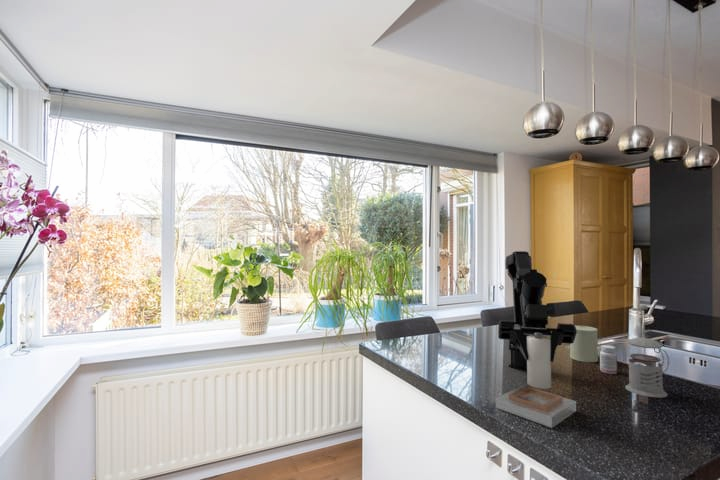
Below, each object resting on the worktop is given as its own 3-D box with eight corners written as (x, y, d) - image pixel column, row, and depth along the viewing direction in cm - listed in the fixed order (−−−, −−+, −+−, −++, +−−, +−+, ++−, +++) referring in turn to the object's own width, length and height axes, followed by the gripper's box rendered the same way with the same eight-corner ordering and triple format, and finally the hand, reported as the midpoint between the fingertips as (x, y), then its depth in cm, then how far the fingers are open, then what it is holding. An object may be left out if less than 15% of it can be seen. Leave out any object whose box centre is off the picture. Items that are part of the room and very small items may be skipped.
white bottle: (522, 381, 96) (522, 331, 96) (540, 380, 97) (540, 330, 97) (537, 389, 90) (536, 336, 90) (556, 387, 91) (555, 335, 92)
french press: (616, 385, 110) (614, 302, 111) (652, 383, 111) (650, 302, 112) (644, 398, 100) (642, 307, 101) (683, 396, 101) (680, 306, 102)
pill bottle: (620, 374, 119) (619, 348, 120) (604, 373, 120) (603, 348, 120) (613, 369, 124) (612, 345, 124) (597, 369, 125) (597, 344, 125)
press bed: (496, 407, 94) (495, 394, 95) (522, 394, 103) (522, 381, 103) (551, 428, 84) (551, 412, 84) (576, 411, 92) (575, 397, 93)
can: (594, 356, 140) (593, 325, 140) (601, 363, 131) (601, 330, 131) (567, 354, 143) (566, 323, 143) (572, 360, 134) (572, 328, 134)
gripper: (498, 291, 101) (501, 340, 90) (574, 293, 95) (587, 346, 84) (496, 314, 108) (499, 363, 97) (567, 318, 102) (578, 369, 92)
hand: (539, 360), depth 92 cm, fingers closed on white bottle, 5 cm apart
